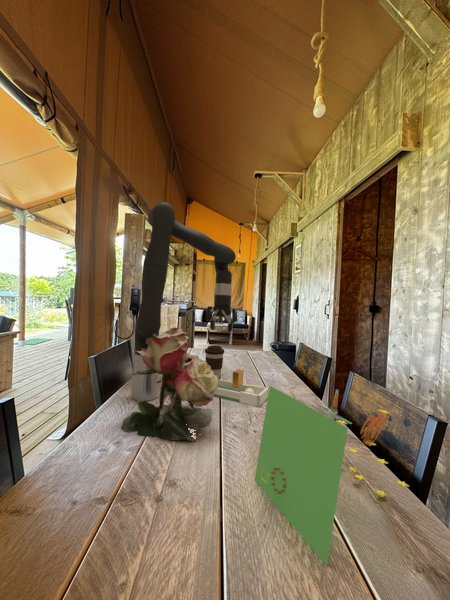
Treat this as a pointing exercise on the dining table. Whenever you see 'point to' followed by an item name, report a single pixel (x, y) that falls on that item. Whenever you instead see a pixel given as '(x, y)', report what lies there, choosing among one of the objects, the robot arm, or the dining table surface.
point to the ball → (249, 390)
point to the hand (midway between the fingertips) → (221, 330)
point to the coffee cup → (215, 358)
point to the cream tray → (242, 393)
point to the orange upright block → (237, 381)
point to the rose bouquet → (174, 389)
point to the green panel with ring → (307, 464)
